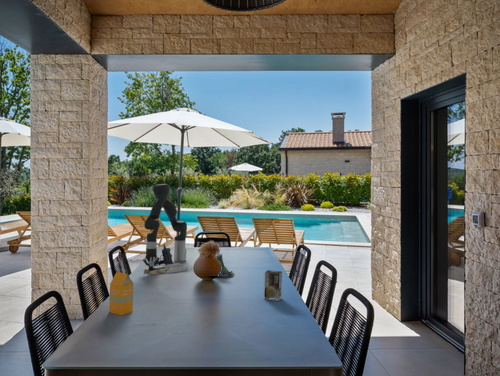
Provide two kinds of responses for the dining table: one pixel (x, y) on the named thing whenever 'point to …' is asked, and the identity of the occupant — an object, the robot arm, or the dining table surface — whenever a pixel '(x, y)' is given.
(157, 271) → the slotted rail
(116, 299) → the orange juice
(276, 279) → the coffee box
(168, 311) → the dining table surface
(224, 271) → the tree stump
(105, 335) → the dining table surface
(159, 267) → the dark gray rectangular block
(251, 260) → the dining table surface
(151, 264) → the robot arm
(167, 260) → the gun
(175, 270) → the tray
